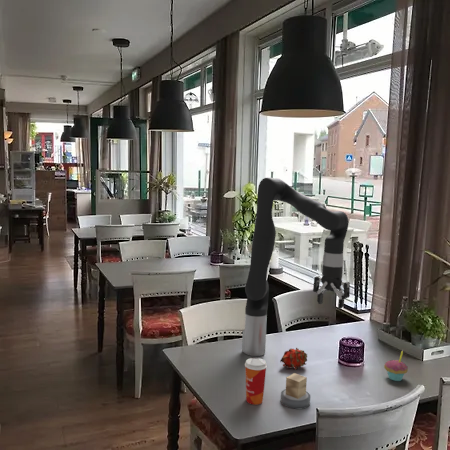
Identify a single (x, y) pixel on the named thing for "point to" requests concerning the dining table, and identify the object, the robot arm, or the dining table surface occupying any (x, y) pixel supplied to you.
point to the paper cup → (255, 380)
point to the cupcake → (396, 369)
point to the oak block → (296, 385)
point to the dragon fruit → (294, 358)
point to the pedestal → (295, 400)
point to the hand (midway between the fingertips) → (330, 305)
